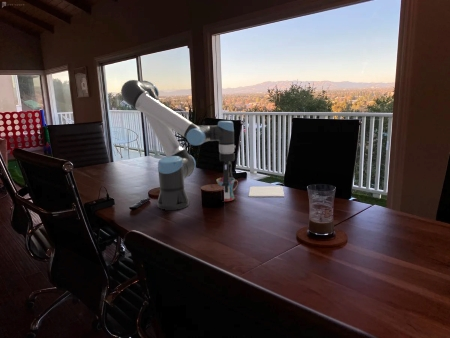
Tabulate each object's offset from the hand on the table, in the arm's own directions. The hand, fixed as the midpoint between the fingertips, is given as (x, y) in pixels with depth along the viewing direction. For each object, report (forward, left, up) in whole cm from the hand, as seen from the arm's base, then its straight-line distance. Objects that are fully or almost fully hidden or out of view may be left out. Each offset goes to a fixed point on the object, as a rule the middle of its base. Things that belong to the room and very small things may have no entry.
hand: (228, 194), depth 162 cm
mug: (0, 0, -3) cm, 3 cm away
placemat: (+13, -19, -2) cm, 23 cm away
